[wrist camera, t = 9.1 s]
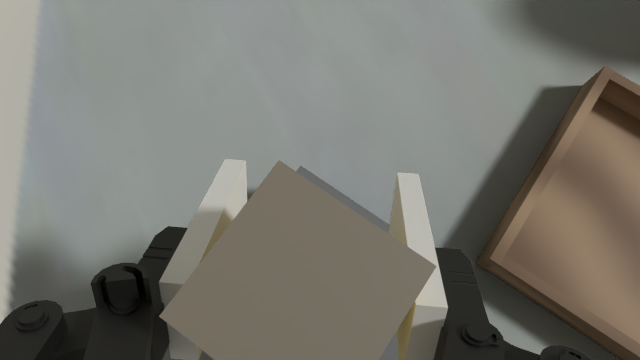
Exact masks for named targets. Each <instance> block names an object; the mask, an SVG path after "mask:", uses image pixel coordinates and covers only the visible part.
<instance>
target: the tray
mask: <svg viewBox="0 0 640 360" xmlns="http://www.w3.org/2000/svg"><path fill="white" fill-rule="evenodd" d="M476 264H478V265H479V266H481V267H482V268H484V269H485V270H487V271H488V272H490V273H491V274H493V275H494V276H496V277H497V278H499V279H500V280H502V281H503V282H505V283H506V284H508V285H509V286H511V287H512V288H514V289H516V290H517V291H519V292H520V293H522V294H523V295H525V296H526V297H528V298H529V299H531V300H532V301H534V302H535V303H537V304H538V305H540V306H541V307H543V308H544V309H546V310H547V311H549V312H550V313H552V314H553V315H555V316H556V317H558V318H559V319H561V320H562V321H564V322H565V323H567V324H568V325H570V326H571V327H573V328H574V329H576V330H577V331H579V332H580V333H582V334H583V335H585V336H586V337H588V338H589V339H591V340H592V341H594V342H595V343H597V344H598V345H600V346H602V347H603V348H605V349H606V350H608V351H609V352H611V353H612V354H614V355H615V356H617V357H618V358H620V359H621V360H640V86H639V85H637V84H636V83H634V82H632V81H630V80H629V79H627V78H625V77H623V76H621V75H620V74H618V73H616V72H614V71H612V70H611V69H609V68H607V67H603V68H602V69H601V70H600V71H599V72H598V73H596V74H595V75H594V76H593V77H592V78H591V79H590V80H588V81H587V82H586V83H585V84H584V85H583V86H582V88H581V89H580V91H579V93H578V94H577V96H576V97H575V99H574V101H573V102H572V104H571V106H570V107H569V109H568V111H567V112H566V114H565V116H564V117H563V119H562V121H561V122H560V124H559V126H558V127H557V129H556V131H555V132H554V134H553V135H552V137H551V139H550V140H549V142H548V144H547V145H546V147H545V149H544V150H543V152H542V154H541V155H540V157H539V159H538V160H537V162H536V164H535V165H534V167H533V168H532V170H531V172H530V173H529V175H528V177H527V178H526V180H525V182H524V183H523V185H522V187H521V188H520V190H519V192H518V193H517V195H516V197H515V198H514V200H513V202H512V203H511V205H510V206H509V208H508V210H507V211H506V213H505V215H504V216H503V218H502V220H501V221H500V223H499V225H498V226H497V228H496V230H495V231H494V233H493V235H492V236H491V238H490V240H489V241H488V243H487V244H486V246H485V248H484V249H483V251H482V253H481V254H480V256H479V258H478V259H477V261H476Z"/></svg>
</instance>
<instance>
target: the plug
mask: <svg viewBox="0 0 640 360" xmlns="http://www.w3.org/2000/svg"><path fill="white" fill-rule="evenodd" d="M435 268H436V265H434V264H433V263H431V262H430V261H428V260H427V259H425V258H424V257H422V256H421V255H419V254H418V253H416V252H415V251H414V250H412V249H411V248H409V247H408V246H406V245H405V244H403V243H402V242H400V241H399V240H397V239H396V238H394V237H393V236H391V235H390V234H388V233H387V232H385V231H384V230H382V229H381V228H379V227H378V226H376V225H375V224H373V223H372V222H370V221H369V220H367V219H366V218H364V217H363V216H361V215H360V214H358V213H357V212H355V211H354V210H352V209H351V208H349V207H348V206H346V205H345V204H343V203H342V202H340V201H339V200H337V199H336V198H334V197H333V196H331V195H330V194H328V193H327V192H325V191H324V190H322V189H321V188H319V187H318V186H317V185H315V184H314V183H312V182H311V181H309V180H308V179H306V178H305V177H303V176H302V175H300V174H299V173H297V172H296V171H294V170H293V169H291V168H290V167H288V166H287V165H285V164H284V163H282V162H281V161H278V162H277V164H276V165H275V166H274V167H273V169H272V170H271V171H270V173H269V174H268V175H267V177H266V178H265V179H264V180H263V182H262V183H261V184H260V186H259V187H258V188H257V190H256V191H255V192H254V193H253V195H252V196H251V197H250V199H249V200H248V201H247V203H246V204H245V205H244V206H243V208H242V209H241V210H240V212H239V213H238V214H237V216H236V217H235V218H234V219H233V221H232V222H231V223H230V225H229V226H228V227H227V229H226V230H225V231H224V232H223V234H222V235H221V236H220V238H219V239H218V240H217V242H216V243H215V244H214V245H213V247H212V248H211V249H210V251H209V252H208V253H207V255H206V256H205V257H204V258H203V260H202V261H201V262H200V264H199V265H198V266H197V268H196V269H195V270H194V272H193V273H192V274H191V275H190V277H189V278H188V279H187V281H186V282H185V283H184V285H183V286H182V287H181V288H180V290H179V291H178V292H177V294H176V295H175V296H174V298H173V299H172V300H171V301H170V303H169V304H168V305H167V307H166V308H165V309H164V311H163V312H162V313H161V314H160V316H159V317H160V318H162V319H163V320H164V321H166V322H167V323H168V324H169V325H171V326H172V327H173V328H174V329H176V330H177V331H178V332H180V333H181V334H182V335H183V336H185V337H186V338H187V339H189V340H190V341H191V342H192V343H194V344H195V345H196V346H197V347H199V348H200V349H201V350H203V351H204V352H205V353H206V354H208V355H209V356H210V357H212V358H213V359H214V360H379V358H380V357H381V355H382V353H383V352H384V350H385V349H386V347H387V345H388V344H389V342H390V341H391V339H392V337H393V336H394V334H395V333H396V331H397V329H398V328H399V326H400V324H401V323H402V321H403V320H404V318H405V316H406V315H407V313H408V312H409V310H410V308H411V307H412V305H413V304H414V302H415V300H416V299H417V297H418V295H419V294H420V292H421V291H422V289H423V287H424V286H425V284H426V283H427V281H428V279H429V278H430V276H431V275H432V273H433V271H434V270H435Z"/></svg>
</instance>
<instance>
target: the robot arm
mask: <svg viewBox="0 0 640 360" xmlns="http://www.w3.org/2000/svg"><path fill="white" fill-rule="evenodd" d="M246 203H247V179H246V160H233V159H225V160H224V162H223V164H222V166H221V168H220V169H219V171H218V173H217V175H216V177H215V179H214V181H213V182H212V184H211V186H210V188H209V190H208V192H207V194H206V195H205V197H204V199H203V201H202V203H201V205H200V207H199V208H198V210H197V212H196V214H195V216H194V218H193V220H192V221H191V223H190V225H189V227H188V228H181V227H169V226H168V227H167V228H165V229H164V230H163V231H161V232H160V233H158V234H157V235H156V236H155V237H154V239H153V240H152V242H151V244H150V245H149V248H148V249H147V250H146V252H145V253H144V255H143V258H141V260H140V261H139V263H138V264H135V263H121V264H116V265H112V266H110V267H108V268H105V269H103V270H102V271H100V272H99V273H98V274H97V275H95V277H94V278H93V280H92V282H91V286H92V290H93V294H94V298H95V302H96V306H97V307H96V308H92V309H88V310H82V311H76V312H69V313H63V310H62V307H61V306H60V305H59V304H57V303H56V302H52V301H48V300H44V301H35V302H31V303H28V304H25V305H23V306H21V307H19V308H17V309H16V310H14V311H13V312H11V313H10V314H9V315H8V316H7V317H6V318H5V319H4V320H3V322H2V323H1V324H0V360H162V359H163V357H164V355H165V352H166V350H167V348H168V345H169V350H170V357H171V359H181V360H199V358H200V355H201V352H202V350H201V349H200V348H199V347H197V346H196V345H195V344H194V343H192V342H191V341H190V340H189V339H187V338H186V337H185V336H183V335H182V334H181V333H180V332H178V331H177V330H176V329H174V328H173V327H172V326H171V325H169V324H168V323H167V322H166V321H164V320H163V319H162V318H160V317H159V316H160V314H161V313H162V312H163V311H164V309H165V308H166V307H167V305H168V304H169V303H170V301H171V300H172V299H173V298H174V296H175V295H176V294H177V292H178V291H179V290H180V288H181V287H182V286H183V285H184V283H185V282H186V281H187V279H188V278H189V277H190V275H191V274H192V273H193V272H194V270H195V269H196V268H197V266H198V265H199V264H200V262H201V261H202V260H203V258H204V257H205V256H206V255H207V253H208V252H209V251H210V249H211V248H212V247H213V245H214V244H215V243H216V242H217V240H218V239H219V238H220V236H221V235H222V234H223V232H224V231H225V230H226V229H227V227H228V226H229V225H230V223H231V222H232V221H233V219H234V218H235V217H236V216H237V214H238V213H239V212H240V210H241V209H242V208H243V206H244V205H245V204H246ZM388 234H390V235H391V236H393V237H394V238H396V239H397V240H399V241H400V242H402V243H403V244H405V245H406V246H408V247H409V248H411V249H412V250H414V251H415V252H416V253H418V254H419V255H421V256H422V257H424V258H425V259H427V260H428V261H430V262H431V263H433V264H434V265H436V268H435V270H434V271H433V273H432V275H431V276H430V278H429V279H428V281H427V283H426V284H425V286H424V287H423V289H422V291H421V292H420V294H419V295H418V297H417V299H416V300H415V302H414V304H413V305H412V307H411V308H410V310H409V312H408V313H407V315H406V316H405V318H404V320H403V321H402V323H401V324H400V326H399V328H398V329H397V331H396V332H397V344H398V355H399V360H589V359H588V358H587V357H586V356H584V355H583V354H581V353H580V352H578V351H576V350H574V349H572V348H568V347H564V346H549V347H547V348H545V349H543V351H542V352H541V354H540V355H538V354H535V353H532V352H529V351H526V350H523V349H520V348H518V347H515V346H513V345H511V344H509V343H508V342H506V341H504V340H503V336H502V335H501V334H500V332H499V331H498V329H497V328H495V327H494V326H493V325H491V324H490V323H489V321H488V318H487V314H486V311H485V308H484V305H483V301H482V298H481V295H480V292H479V289H478V286H477V282H476V279H475V276H474V273H473V269H472V266H471V263H470V261H469V260H468V258H467V257H466V256H465V255H464V254H463V253H462V252H461V251H460V250H457V249H445V248H435V246H434V242H433V237H432V233H431V228H430V223H429V219H428V214H427V210H426V205H425V201H424V196H423V192H422V187H421V183H420V178H419V174H413V173H400V172H397V178H396V184H395V191H394V198H393V204H392V211H391V218H390V225H389V231H388Z"/></svg>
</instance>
